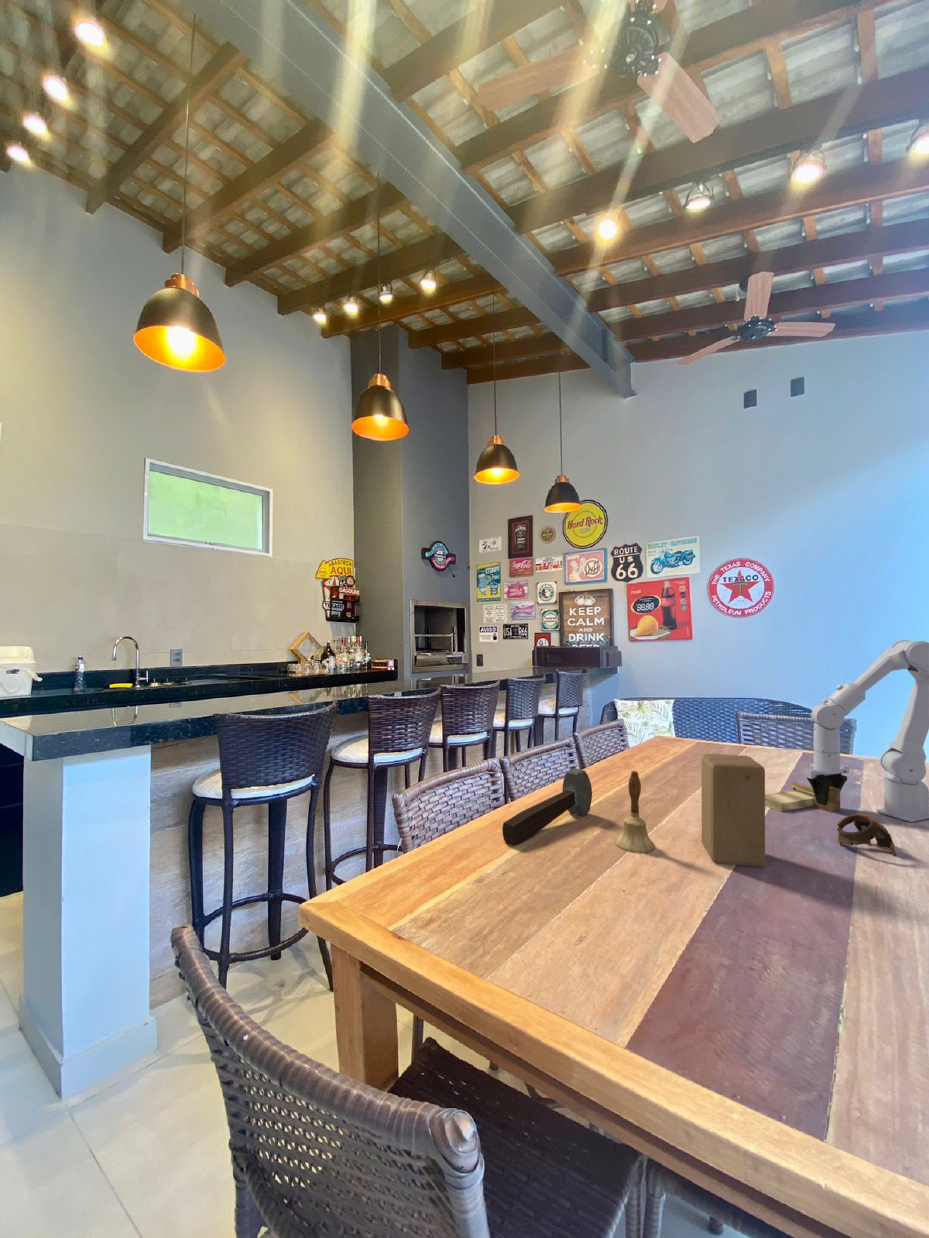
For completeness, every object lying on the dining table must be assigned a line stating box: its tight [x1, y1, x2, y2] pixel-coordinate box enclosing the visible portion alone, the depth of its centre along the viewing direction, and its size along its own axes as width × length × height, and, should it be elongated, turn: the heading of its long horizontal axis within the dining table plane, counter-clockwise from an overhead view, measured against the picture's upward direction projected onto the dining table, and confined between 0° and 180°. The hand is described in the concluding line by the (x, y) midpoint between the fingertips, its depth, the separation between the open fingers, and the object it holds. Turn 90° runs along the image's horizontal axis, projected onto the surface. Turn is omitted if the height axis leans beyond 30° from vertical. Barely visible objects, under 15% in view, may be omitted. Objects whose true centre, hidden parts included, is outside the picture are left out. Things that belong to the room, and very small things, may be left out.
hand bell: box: [614, 770, 656, 853], centre depth 117 cm, size 8×8×16 cm
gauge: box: [790, 782, 841, 813], centre depth 143 cm, size 4×12×6 cm, turn 22°
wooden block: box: [701, 753, 766, 868], centre depth 111 cm, size 10×10×20 cm
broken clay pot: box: [836, 813, 897, 857], centre depth 116 cm, size 12×10×8 cm
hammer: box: [502, 767, 593, 847], centre depth 127 cm, size 5×11×30 cm
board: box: [765, 789, 814, 813], centre depth 144 cm, size 17×7×2 cm, turn 112°
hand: (826, 802), depth 140 cm, fingers closed on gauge, 3 cm apart
